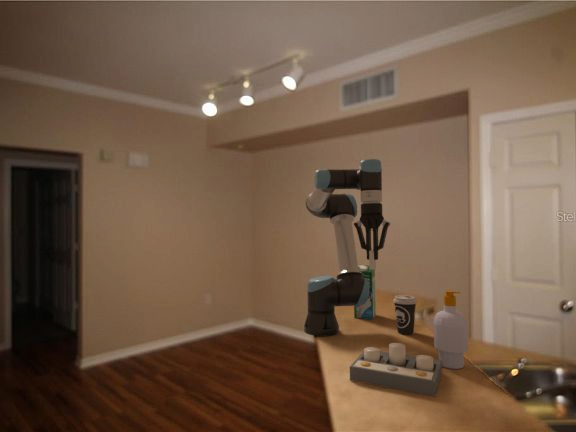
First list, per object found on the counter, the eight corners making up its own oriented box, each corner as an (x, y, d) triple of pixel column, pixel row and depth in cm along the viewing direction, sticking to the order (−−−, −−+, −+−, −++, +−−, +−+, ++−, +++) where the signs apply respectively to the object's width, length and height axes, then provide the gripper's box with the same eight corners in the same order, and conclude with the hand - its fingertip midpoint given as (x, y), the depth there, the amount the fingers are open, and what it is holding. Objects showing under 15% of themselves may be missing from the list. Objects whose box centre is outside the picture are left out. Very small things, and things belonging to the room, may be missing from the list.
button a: (362, 370, 117) (362, 351, 117) (366, 364, 121) (366, 346, 121) (377, 372, 115) (377, 353, 115) (381, 367, 119) (381, 348, 119)
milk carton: (354, 317, 182) (353, 266, 182) (357, 313, 190) (357, 264, 191) (372, 319, 179) (371, 267, 179) (375, 314, 187) (374, 265, 187)
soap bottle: (466, 374, 114) (464, 295, 114) (431, 367, 119) (429, 292, 120) (470, 363, 123) (468, 289, 123) (437, 357, 128) (435, 287, 128)
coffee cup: (419, 336, 151) (418, 299, 151) (394, 335, 153) (394, 299, 153) (415, 329, 161) (415, 295, 161) (393, 328, 163) (392, 294, 163)
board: (349, 379, 111) (349, 364, 111) (366, 360, 126) (365, 347, 126) (435, 396, 100) (435, 379, 100) (442, 373, 115) (441, 358, 115)
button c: (415, 379, 110) (414, 359, 110) (417, 373, 114) (417, 353, 114) (432, 382, 107) (432, 361, 107) (434, 376, 112) (434, 356, 112)
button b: (387, 366, 113) (387, 346, 113) (391, 361, 118) (391, 342, 118) (404, 369, 111) (403, 349, 111) (407, 363, 115) (406, 344, 115)
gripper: (350, 203, 132) (351, 269, 132) (387, 201, 126) (388, 271, 126) (356, 203, 139) (358, 266, 139) (392, 202, 133) (393, 268, 133)
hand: (372, 268), depth 132 cm, fingers closed
